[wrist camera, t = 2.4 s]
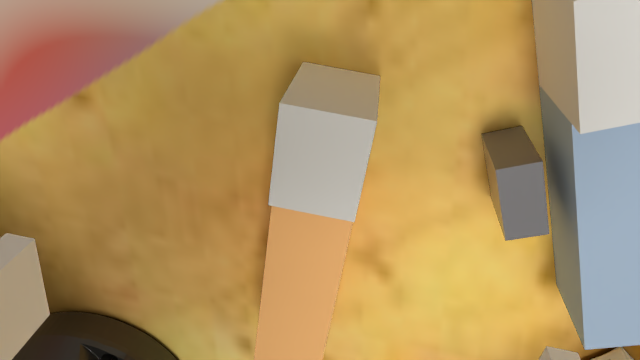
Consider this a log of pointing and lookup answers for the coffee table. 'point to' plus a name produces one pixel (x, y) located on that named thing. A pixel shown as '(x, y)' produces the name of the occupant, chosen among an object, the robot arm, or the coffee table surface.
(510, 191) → the grey blocks
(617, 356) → the tea box
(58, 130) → the coffee table surface
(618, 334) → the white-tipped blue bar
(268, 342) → the white-capped orange post
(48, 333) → the robot arm
